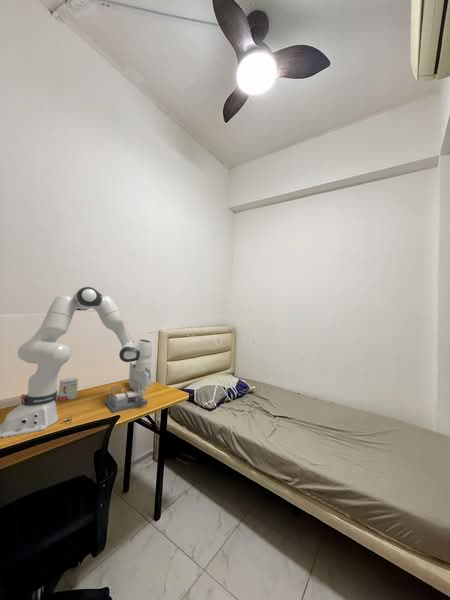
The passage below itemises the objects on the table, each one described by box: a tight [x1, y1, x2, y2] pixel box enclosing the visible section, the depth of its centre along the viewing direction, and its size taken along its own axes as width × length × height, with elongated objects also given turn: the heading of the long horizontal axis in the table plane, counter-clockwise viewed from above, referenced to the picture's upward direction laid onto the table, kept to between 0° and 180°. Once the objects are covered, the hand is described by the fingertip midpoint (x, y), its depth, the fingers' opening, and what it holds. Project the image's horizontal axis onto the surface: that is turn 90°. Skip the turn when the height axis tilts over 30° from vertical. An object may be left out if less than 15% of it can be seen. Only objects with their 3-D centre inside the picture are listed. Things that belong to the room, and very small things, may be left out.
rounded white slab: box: [128, 361, 147, 394], centre depth 164 cm, size 27×7×17 cm, turn 34°
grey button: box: [115, 392, 126, 400], centre depth 133 cm, size 4×4×5 cm
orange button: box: [110, 385, 122, 396], centre depth 139 cm, size 4×4×5 cm
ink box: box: [57, 376, 78, 402], centre depth 144 cm, size 9×5×12 cm, turn 138°
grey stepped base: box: [104, 392, 148, 414], centre depth 139 cm, size 19×15×6 cm
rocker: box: [125, 391, 146, 398], centre depth 140 cm, size 10×4×2 cm, turn 132°
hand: (142, 389), depth 142 cm, fingers closed
